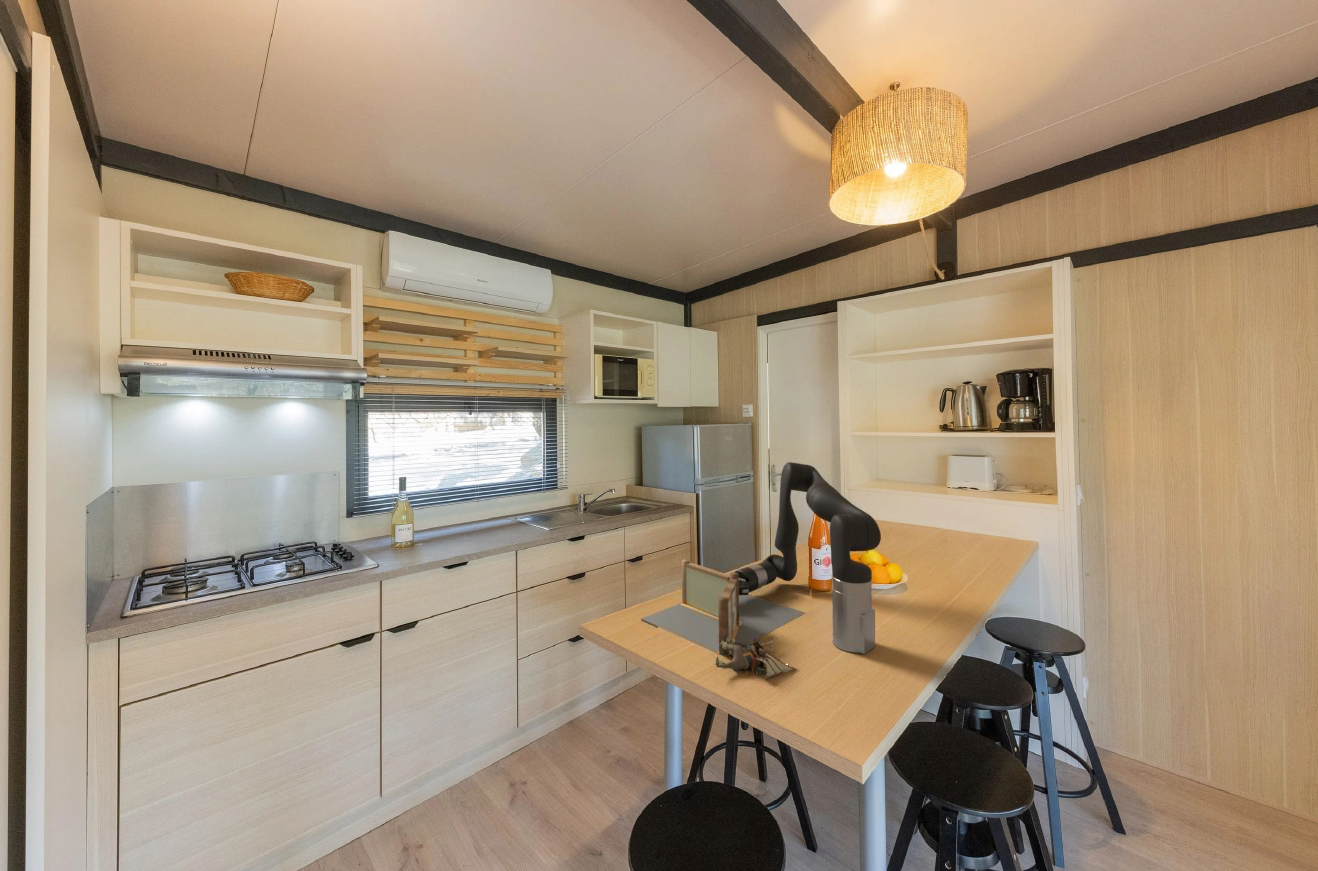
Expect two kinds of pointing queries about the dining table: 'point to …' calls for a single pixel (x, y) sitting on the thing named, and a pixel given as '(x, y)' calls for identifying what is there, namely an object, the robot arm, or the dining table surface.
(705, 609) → the fence gate
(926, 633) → the dining table surface
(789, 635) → the dining table surface
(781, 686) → the dining table surface
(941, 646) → the dining table surface
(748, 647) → the figurine
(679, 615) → the card
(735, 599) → the post
